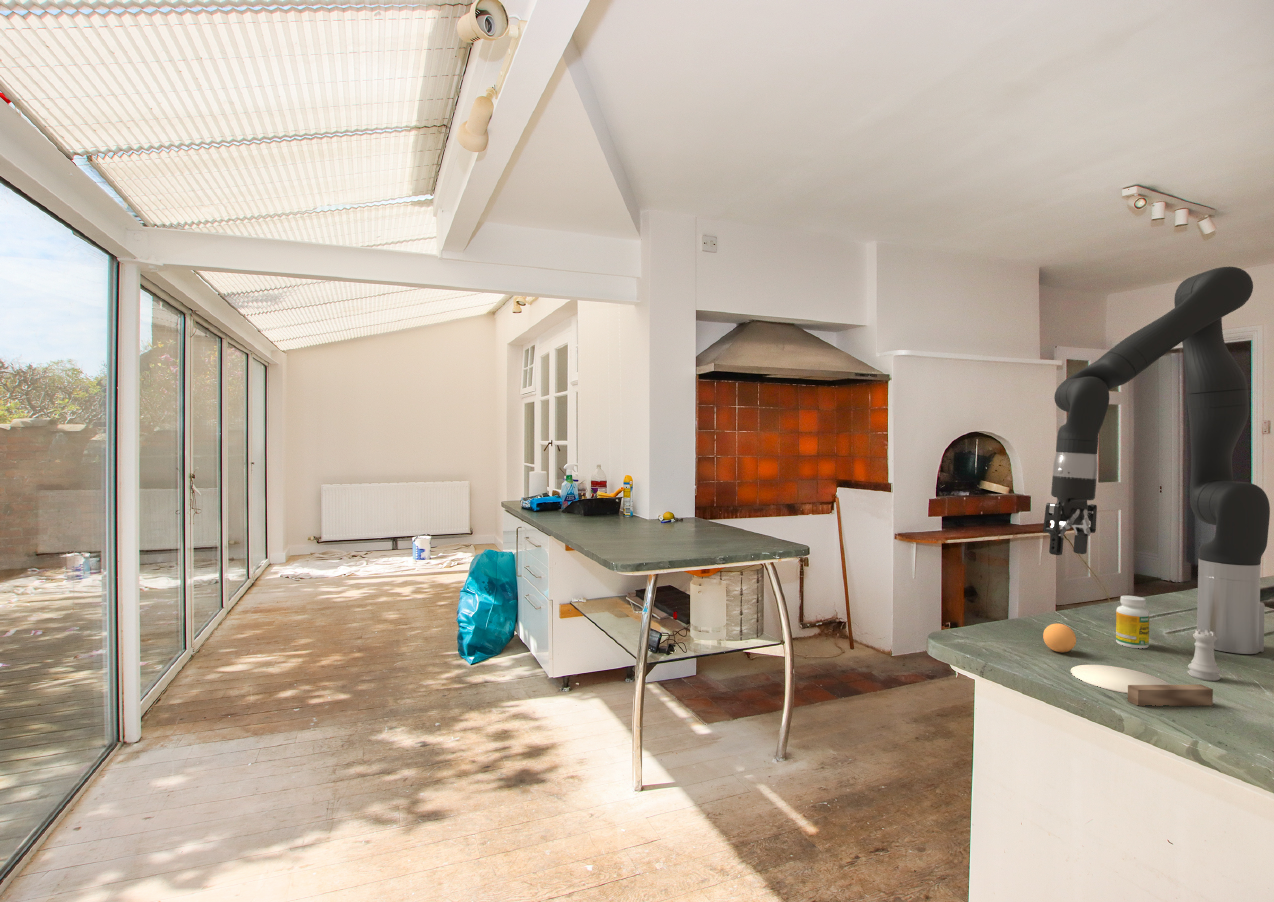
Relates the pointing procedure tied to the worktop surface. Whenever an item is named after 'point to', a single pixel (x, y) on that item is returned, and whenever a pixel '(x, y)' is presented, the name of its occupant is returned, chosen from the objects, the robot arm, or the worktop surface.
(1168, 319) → the robot arm
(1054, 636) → the egg
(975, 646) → the worktop surface
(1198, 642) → the rook chess piece
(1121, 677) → the disc
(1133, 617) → the supplement bottle
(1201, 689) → the rail
